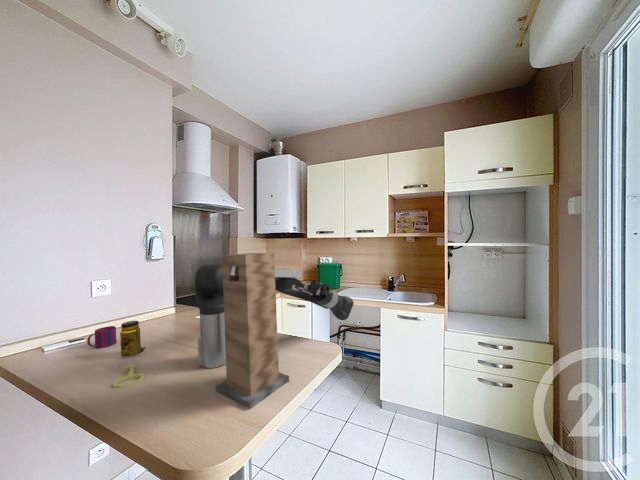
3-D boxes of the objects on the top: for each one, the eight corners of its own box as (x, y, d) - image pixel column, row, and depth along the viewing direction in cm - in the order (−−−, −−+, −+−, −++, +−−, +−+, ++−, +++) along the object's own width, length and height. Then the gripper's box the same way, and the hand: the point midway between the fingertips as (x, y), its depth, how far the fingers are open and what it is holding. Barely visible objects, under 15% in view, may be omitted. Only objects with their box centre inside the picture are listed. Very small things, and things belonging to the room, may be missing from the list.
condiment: (116, 360, 90) (115, 326, 90) (124, 350, 98) (123, 320, 98) (140, 355, 93) (139, 323, 93) (146, 347, 101) (145, 317, 101)
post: (256, 368, 80) (251, 252, 80) (289, 381, 72) (284, 252, 72) (216, 391, 68) (211, 255, 68) (250, 409, 60) (244, 255, 60)
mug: (120, 342, 106) (119, 326, 106) (92, 352, 97) (92, 335, 97) (109, 341, 109) (108, 325, 109) (81, 351, 99) (80, 333, 99)
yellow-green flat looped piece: (135, 368, 84) (134, 362, 84) (145, 381, 75) (145, 374, 75) (107, 378, 78) (106, 371, 78) (115, 392, 70) (114, 385, 70)
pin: (295, 277, 85) (295, 270, 85) (300, 277, 83) (300, 270, 83) (229, 275, 67) (230, 266, 67) (234, 275, 65) (235, 266, 66)
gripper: (313, 286, 106) (290, 270, 95) (342, 288, 98) (321, 272, 87) (308, 303, 103) (284, 289, 92) (338, 307, 95) (316, 293, 84)
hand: (302, 281), depth 89 cm, fingers open, 8 cm apart
